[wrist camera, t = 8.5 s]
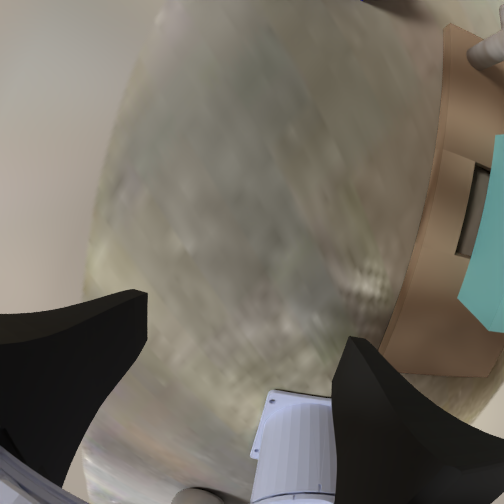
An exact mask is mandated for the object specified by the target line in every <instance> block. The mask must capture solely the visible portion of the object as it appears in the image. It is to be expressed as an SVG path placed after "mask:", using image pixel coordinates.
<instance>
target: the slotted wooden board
mask: <svg viewBox="0 0 504 504" xmlns="http://www.w3.org/2000/svg"><path fill="white" fill-rule="evenodd" d="M499 14H500V21H501V29H502V30H500V31H498V32H496V33H495V34H493V35H491V36H490V37H488V38H486V39H482V38H480V37H478V36H476V35H474V34H472V33H470V32H468V31H466V30H464V29H462V28H460V27H458V26H456V25H454V24H451V23H450V24H449V25H447V26H446V27H445V28H444V29H443V78H442V93H441V105H440V115H439V124H438V132H437V139H436V146H435V153H434V159H433V165H432V171H431V176H430V181H429V186H428V191H427V196H426V201H425V205H424V210H423V214H422V218H421V222H420V226H419V230H418V234H417V238H416V241H415V245H414V249H413V252H412V256H411V259H410V262H409V266H408V269H407V272H406V276H405V279H404V282H403V285H402V288H401V291H400V294H399V297H398V300H397V303H396V305H395V308H394V311H393V314H392V316H391V319H390V322H389V324H388V327H387V330H386V332H385V335H384V337H383V340H382V342H381V345H380V347H379V350H378V352H379V353H380V354H381V355H382V356H383V357H384V358H385V359H386V360H387V361H388V362H389V363H390V364H391V365H392V366H393V367H394V368H395V369H396V370H397V371H398V372H400V373H411V374H423V375H438V376H458V377H488V376H489V374H490V372H491V370H492V368H493V367H494V365H495V363H496V361H497V359H498V357H499V355H500V353H501V352H502V350H503V348H504V333H501V332H493V331H488V330H487V329H486V327H485V326H484V325H483V324H482V323H481V322H480V321H479V320H478V319H477V318H476V317H475V316H474V315H473V314H472V313H471V312H470V311H469V310H468V309H467V308H466V307H465V306H464V305H463V304H462V303H461V302H460V301H459V300H458V299H457V297H458V295H459V292H460V289H461V286H462V283H463V281H464V278H465V275H466V272H467V269H468V265H469V262H470V259H471V256H468V255H464V254H461V253H457V252H455V251H456V247H457V244H458V240H459V236H460V233H461V229H462V225H463V221H464V217H465V213H466V208H467V204H468V199H469V194H470V189H471V184H472V178H473V173H474V166H475V165H477V166H479V167H481V168H484V169H486V170H488V171H491V167H492V160H493V152H494V144H495V135H501V134H504V4H503V5H501V6H500V8H499Z"/></svg>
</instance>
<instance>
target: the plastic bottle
mask: <svg viewBox="0 0 504 504" xmlns="http://www.w3.org/2000/svg"><path fill="white" fill-rule="evenodd" d="M171 504H224V502H223V500H222V499H221V498H220V497H218V496H216V495H214V494H212V493H210V492H207V491H204V490H200V489H193V488H187V489H183V490H182V491H180V492H178V493H177V494H176V495H175V497H174V498H173V500H172V502H171Z"/></svg>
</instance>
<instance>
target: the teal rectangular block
mask: <svg viewBox="0 0 504 504" xmlns="http://www.w3.org/2000/svg"><path fill="white" fill-rule="evenodd" d="M457 299H458V300H459V301H460V302H461V303H462V304H463V305H464V306H465V307H466V308H467V309H468V310H469V311H470V312H471V313H472V314H473V315H474V316H475V317H476V318H477V319H478V320H479V321H480V322H481V323H482V324H483V325H484V326H485V327H486V329H487V330H488V331H493V332H501V333H504V134H501V135H495V144H494V152H493V160H492V167H491V173H490V179H489V185H488V190H487V196H486V201H485V205H484V210H483V214H482V219H481V223H480V227H479V231H478V234H477V238H476V242H475V245H474V249H473V252H472V256H471V259H470V262H469V265H468V269H467V272H466V275H465V278H464V281H463V283H462V286H461V289H460V292H459V295H458V297H457Z"/></svg>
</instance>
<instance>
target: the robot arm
mask: <svg viewBox="0 0 504 504" xmlns="http://www.w3.org/2000/svg"><path fill="white" fill-rule="evenodd" d="M147 302H148V293H146V292H142V291H138V290H135V289H131V290H125V291H121V292H118V293H114V294H111V295H107V296H104V297H101V298H97V299H94V300H91V301H87V302H83V303H80V304H76V305H72V306H68V307H64V308H59V309H55V310H49V311H42V312H34V313H20V314H0V504H89V503H87V502H85V501H83V500H81V499H80V498H78V497H76V496H74V495H72V494H70V493H69V492H67V491H65V490H64V489H62V486H63V483H64V480H65V478H66V475H67V472H68V470H69V467H70V465H71V462H72V460H73V458H74V456H75V453H76V451H77V449H78V447H79V445H80V443H81V441H82V439H83V437H84V435H85V433H86V431H87V429H88V427H89V425H90V423H91V422H92V420H93V418H94V416H95V415H96V413H97V411H98V409H99V408H100V406H101V405H102V403H103V402H104V400H105V399H106V398H107V396H108V395H109V394H110V393H111V391H112V390H113V389H114V388H115V386H116V385H117V384H118V382H119V381H120V380H121V379H122V377H123V376H124V375H125V374H126V372H127V371H128V370H129V368H130V367H131V366H132V365H133V363H134V362H135V361H136V359H137V357H138V356H139V354H140V352H141V351H142V349H143V347H144V345H145V343H146V341H147ZM271 399H274V400H275V401H272V400H271ZM250 457H251V458H254V459H258V463H257V469H256V474H255V480H254V485H253V490H252V495H251V500H250V504H491V503H492V502H493V501H494V500H495V499H497V498H498V497H499V496H500V495H501V494H502V493H503V492H504V439H502V438H499V437H496V436H493V435H490V434H488V433H485V432H483V431H481V430H479V429H477V428H475V427H472V426H470V425H468V424H467V423H465V422H463V421H461V420H459V419H457V418H456V417H454V416H453V415H451V414H449V413H448V412H446V411H444V410H443V409H442V408H440V407H439V406H437V405H436V404H434V403H433V402H432V401H431V400H429V399H428V398H427V397H425V396H424V395H423V394H421V393H420V392H419V391H418V390H417V389H416V388H415V387H413V386H412V385H411V384H410V383H409V382H408V381H407V380H406V379H405V378H404V377H403V376H402V375H401V374H400V373H399V372H398V371H397V370H396V369H395V368H394V367H393V366H392V365H391V364H390V363H389V362H388V361H387V360H386V359H385V358H384V357H383V356H382V355H381V354H380V353H379V352H378V350H377V349H376V348H375V347H374V346H373V345H372V344H371V343H370V342H369V341H367V340H366V339H364V338H357V337H351V336H349V338H348V340H347V343H346V346H345V349H344V351H343V354H342V357H341V359H340V362H339V365H338V367H337V370H336V372H335V375H334V377H333V380H332V395H331V398H323V397H316V396H309V395H303V394H296V393H290V392H285V391H279V390H271V391H269V392H268V395H267V399H266V402H265V406H264V409H263V413H262V416H261V420H260V423H259V426H258V430H257V433H256V436H255V440H254V443H253V446H252V450H251V453H250Z"/></svg>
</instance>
